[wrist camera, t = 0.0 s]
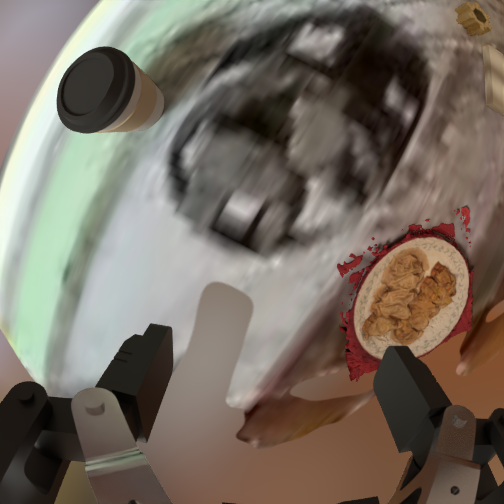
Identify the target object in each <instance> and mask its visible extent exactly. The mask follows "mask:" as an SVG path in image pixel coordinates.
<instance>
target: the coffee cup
mask: <svg viewBox="0 0 504 504" xmlns="http://www.w3.org/2000/svg"><path fill="white" fill-rule="evenodd" d="M163 109H164V96H163V93H162V92H161V90H160V89H159V88H158V87H157V86H156V85H155V84H154V82H153V81H152V80H151V79H150V78H149V77H148V76H147V75H146V74H145V73H144V72H143V71H142V70H141V69H140V68H139V67H138V66H137V65H136V64H135V63H134V62H132V61H131V60H130V58H129V57H128V56H127V55H126V54H125V53H124V52H122V51H120V50H118V49H115V48H113V47H98V48H94V49H92V50H90V51H88V52H86V53H84V54H83V55H81V56H80V57H79V58H78V59H77V60H76V61H75V62H73V63H72V64H71V66H70V67H69V68H68V69H67V70H66V72H65V73H64V75H63V77H62V79H61V81H60V84H59V88H58V93H57V111H58V115H59V117H60V120H61V121H62V123H63V124H64V125H65V126H66V127H67V128H68V129H70V130H72V131H76V132H80V133H95V132H98V133H103V132H128V131H142V130H145V129H148V128H149V127H151V126H152V125H154V124H155V123H156V122H157V121H158V119H159V118H160V116H161V114H162V112H163Z"/></svg>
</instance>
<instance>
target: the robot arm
mask: <svg viewBox="0 0 504 504" xmlns="http://www.w3.org/2000/svg"><path fill="white" fill-rule="evenodd" d="M172 370H173V337H172V328H171V327H169V326H163V325H158V324H152V323H151V324H150V325H149V326H148V328H147V330H146V331H145V333H144V334H143V336H142V335H137V334H135V335H133V336H132V337H130V338H129V339H127V340H126V341H124V343H123V344H122V346H121V347H120V349H119V352H117V353H116V355H115V356H114V360H112V361H111V363H110V364H109V366H108V367H107V369H106V370H105V372H104V373H103V375H102V377H101V378H100V380H99V381H98V383H97V385H96V386H95V387H92V388H87V389H84V390H81V391H80V392H78V393H77V394H76V395H75V396H74V398H59V397H49V396H48V395H47V393H46V390H45V389H44V387H43V386H41V385H40V384H38V383H35V382H31V381H27V382H22V383H19V384H17V385H15V386H14V387H13V388H12V389H11V390H10V391H9V393H8V394H7V395H6V397H5V398H4V399H3V401H2V402H1V403H0V504H54V502H55V500H56V497H57V494H58V492H59V489H60V487H61V484H62V481H63V479H64V476H65V474H66V471H67V469H68V467H69V464H70V462H71V461H81V462H86V464H87V465H85V469H86V473H87V476H88V479H89V482H90V484H91V487H92V490H93V492H94V495H95V497H96V499H97V502H98V504H173V503H172V502H171V500H170V499H169V497H168V495H167V494H166V492H165V490H164V489H163V487H162V485H161V484H160V482H159V480H158V479H157V477H156V475H155V473H154V472H153V470H152V468H151V466H150V464H149V462H148V461H147V459H146V457H145V455H144V454H143V453H141V451H140V450H139V448H138V446H137V444H136V441H139V442H144V443H147V442H148V439H149V436H150V433H151V430H152V427H153V424H154V422H155V419H156V416H157V413H158V410H159V408H160V405H161V402H162V399H163V396H164V394H165V391H166V388H167V386H168V383H169V380H170V378H171V375H172ZM373 385H374V386H373V387H374V392H375V394H376V396H377V399H378V401H379V403H380V406H381V408H382V411H383V413H384V415H385V418H386V421H387V423H388V425H389V428H390V430H391V433H392V436H393V438H394V441H395V443H396V446H397V448H398V451H399V453H401V452H406V451H412V453H413V454H412V455H411V457H410V458H409V460H408V462H407V465H406V467H405V470H404V472H403V474H402V477H401V479H400V481H399V483H398V486H397V488H396V490H395V492H394V494H393V496H392V498H391V499H390V500H389V502H388V503H387V504H504V481H503V483H502V484H501V485H499V486H498V485H497V483H496V481H495V478H494V476H493V474H492V471H491V469H490V467H489V465H488V462H489V461H490V460H491V459H492V458H493V457H494V456H495V455H496V454H497V455H498V457H499V459H500V461H501V463H502V465H503V467H504V409H503V408H498V409H496V410H494V411H493V413H492V414H491V416H490V417H489V419H477V418H475V416H474V414H473V413H472V412H471V411H470V410H469V409H467V408H465V407H463V406H460V405H452V403H451V402H450V400H449V399H448V397H447V396H446V394H445V393H444V391H443V390H442V388H441V387H440V385H439V383H438V382H436V379H435V377H434V376H433V375H432V373H431V371H430V370H429V368H428V367H427V365H425V364H424V363H423V362H422V361H421V360H419V359H418V358H417V357H415V355H414V354H413V352H412V351H411V350H410V348H409V347H408V346H406V345H404V346H388V347H387V349H386V351H385V353H384V355H383V358H382V360H381V363H380V365H379V367H378V370H377V372H376V374H375V377H374V383H373ZM222 504H234V503H222ZM338 504H379V500H378V497H377V496H376V497H371V498H365V499H359V500H352V501H345V502H341V503H338Z"/></svg>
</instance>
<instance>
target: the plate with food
mask: <svg viewBox="0 0 504 504" xmlns="http://www.w3.org/2000/svg"><path fill="white" fill-rule="evenodd" d="M461 209H462V211H461V213H462V216H463V219H464V216H466V218H465V219H464V222H463V224H465V226H466V227H467V225H468V223H469V221H470V217H469V213H470V211H469V209H468V208H467V207H465V208H461ZM454 211H455V210H454ZM459 212H460V210H457V213H456V215H457V214H458V213H459ZM462 216H461V218H460V219H461V220H462ZM425 221H429V219H428V220H425ZM420 228H421V229H422V230H421V231H422V232H423V231H424V232H425V233H424V234H423V233H422V232H421V231H418V230H420ZM402 230H403V229H402ZM414 230H416V231H417V232H415V234H416V233H417V234H416V235H414V233H413V232H411V234H410V233H409V234H408V233H407V235H406V234H404V235H403V236H405V238H404V239H402V240H401V241H399V242H398V243H394V244H393V245H392V246H391V247H390V248H388V249H387V247H388V245H385V246H384V249H383V250H382V251H381V252H379V253H377V252H378V250H379V248H376V252H372V255H374V256H377V257H376V258H375V259H374V260H373V261H371V262H370V263H371V265H370V266H368V267H366V270H367V271H366V273H365V274H364V276H362V273H363V272H364V269H362V271H361V272H360V273H359V271H358V272H357V273H355V274H353V275H351V276H350V279H349V283H353V282H355V285H354V287H353V290H355V289H356V288H357V287H358V284H359V281H360V280H361V277H362V281H361V282H360V284H359V287H358V289H357V291H356V293H357V295H356V297H355V299H354V301H353V307H352V309H351V310H348V312H346V317H348V324H347V323H346V321H345V319H346V318H343V312H341V313H340V315H341V319H342V321H343V323H344V325H345V326H346V328H347V331H345V330H344V329H343V328H342V327H340V330H341V332H345V333H347V337H346V339H348V340H349V342H348V343H347V344H346V346H345V348H349V350H350V351H351V352H352V353H351V352H350V351H345V355H346V360H347V365H348V369H349V371H350V375H349V376H350V380H351V381H352V380H354V379H355V378H357V379H356V382H357V381H358V379H359V376H362V375H363V373H369V372H372V371H374V370H378V367H379V365H380V363H381V360H382V358H383V355H384V353H385V351H386V349H387V347H388V346H404V345H406V346H408V347H409V348H410V350H411V351H412V352H413V354H414V355H415V357H417V358H419V357H422V356H425V355H426V354H428V353H430V352H431V351H432V350H434V348H436V347H437V346H439V345H440V344H442V343H444V342H447V341H448V340H449V339H450V338H451V337H453V336H455V335H457V334H459V333H461V332H464V331H467V330H468V331H470V329H471V328H472V327H471V324H472V321H471V318H472V312H471V310H472V304H471V302H472V301H473V299H472V275H473V273H474V271H471V272H469V269H468V261H467V262H466V259H465V257H464V256H463V255H462V253H460V251H461V250H459V249H456V248H455V247H457V244H456V242H454V241H453V243H451V242H449V241H446V240H445V239H444V238H443V237H442V236H440V235H437V234H436V235H435V234H434V235H433V233H434V232H433V231H432V230H434V231H436V232H437V231H438V232H439V233H441V234H443V235H446V236H445V237H446V238H448V237H451V234H452V237H454V236H455V232H454V224H453V223H451V224H444V223H440V225H439V226H437V227H433V228H432V229H431V230H430V229H428V230H424V229H423V228H422V225H414V224H413V225H410V226H409V231H414ZM461 230H462V229H461ZM467 231H468V232H469V233H470V230H469V229H468V228H466V232H467ZM418 232H420V235H419V233H418ZM412 234H413V235H412ZM449 235H450V236H449ZM448 239H450V238H448ZM451 239H454V238H451ZM466 239H468V237H466ZM372 240H374V237H373V238H372ZM454 240H455V239H454ZM454 243H455V244H454ZM467 243H468V242H467ZM469 243H471V242H469ZM453 244H454V245H453ZM374 246H377V244H375V245H374ZM372 248H373V247H370V246H369V247H368V249H367V250H369V251H371V249H372ZM457 248H458V247H457ZM470 248H471V246H470ZM364 253H365V252H364ZM349 257H353V258H355V260H354V261H353V262H352V263H350V264H346V263H345V262H344V265H340V264H339V263H338V264H337V268H338V270H339V272H340V275H341V276H342V278H343V275H344V274H346V273H348V272H349V269H351V268H352V267H353V268H354V267H356V266H357V265H359V263H360V262H361V260H362V257H363V255H360V256H357V257H356V256H355V255H353V254H350V256H349ZM369 258H370V257H369ZM467 260H468V259H467ZM351 270H353V269H351ZM343 273H344V274H343ZM349 283H348V284H349ZM350 295H352V294H350ZM353 295H354V294H353ZM351 301H352V299H351ZM342 304H343V302H342ZM342 304H341V305H342ZM349 305H350V304H349ZM460 318H461V319H460ZM339 326H340V325H339ZM354 354H355V355H354ZM356 355H357V356H356ZM358 356H359V357H358Z"/></svg>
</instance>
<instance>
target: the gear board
mask: <svg viewBox="0 0 504 504" xmlns="http://www.w3.org/2000/svg"><path fill="white" fill-rule="evenodd" d="M482 51H483V61H484V73H485V95H486V106H487V107H489V108H491V109H493V110H494V111H496V112H498V113H499V114H501V115H503V116H504V54H502V53H501V52H499V51H498V50H497V49H495V48H494V47H492V46H491V45H489V44H487V45H485V46H482Z"/></svg>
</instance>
